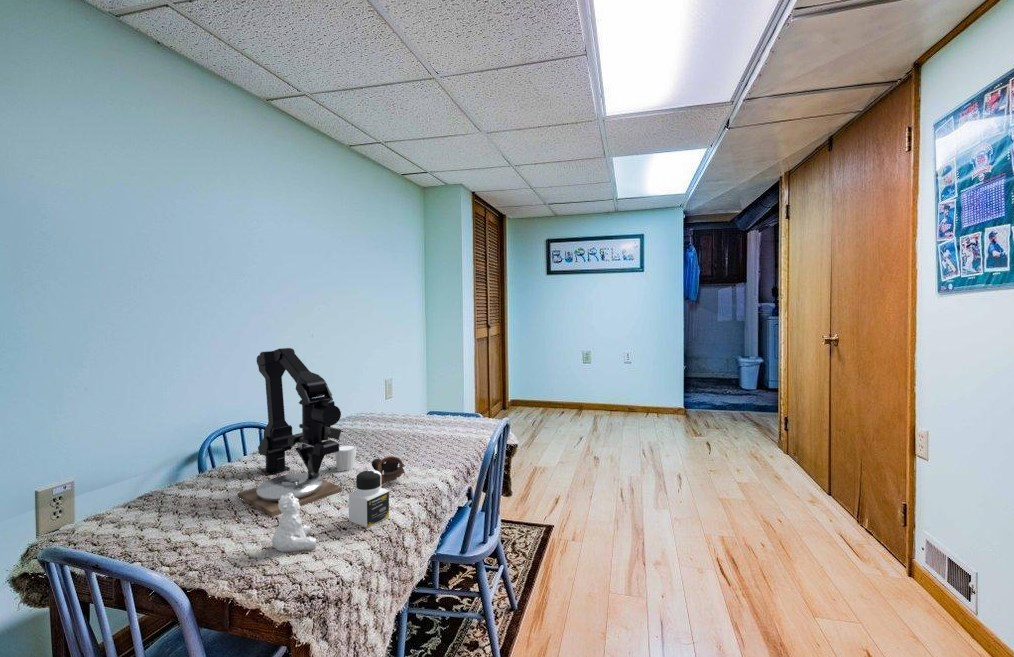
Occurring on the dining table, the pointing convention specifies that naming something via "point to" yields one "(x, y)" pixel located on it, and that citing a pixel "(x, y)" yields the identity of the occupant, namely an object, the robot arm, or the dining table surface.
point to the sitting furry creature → (292, 528)
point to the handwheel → (290, 485)
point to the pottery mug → (388, 468)
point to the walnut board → (272, 507)
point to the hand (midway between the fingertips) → (313, 471)
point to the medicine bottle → (368, 500)
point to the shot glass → (345, 457)
